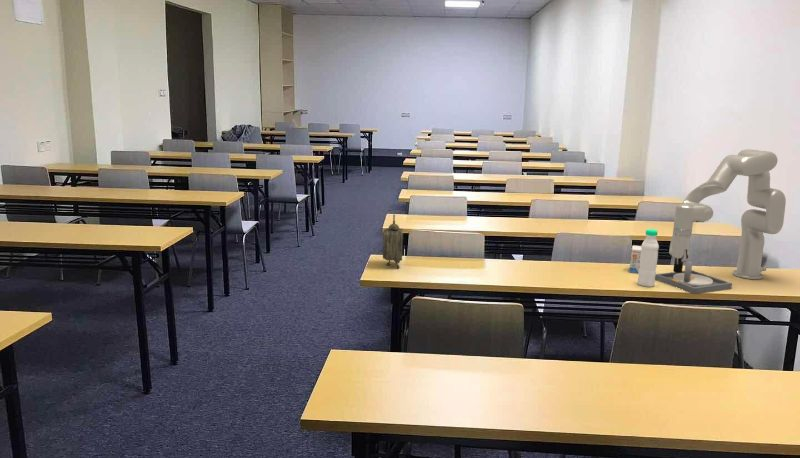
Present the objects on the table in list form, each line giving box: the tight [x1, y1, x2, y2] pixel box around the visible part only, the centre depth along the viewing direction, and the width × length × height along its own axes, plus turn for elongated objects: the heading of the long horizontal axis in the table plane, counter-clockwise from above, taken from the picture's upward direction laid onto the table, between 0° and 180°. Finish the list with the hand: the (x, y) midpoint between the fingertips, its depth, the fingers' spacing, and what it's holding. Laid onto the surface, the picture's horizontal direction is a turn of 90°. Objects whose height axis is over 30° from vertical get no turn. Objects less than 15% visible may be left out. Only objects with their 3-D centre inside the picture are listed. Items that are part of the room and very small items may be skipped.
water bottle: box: [637, 228, 660, 288], centre depth 266 cm, size 7×7×25 cm
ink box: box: [628, 245, 642, 274], centre depth 288 cm, size 9×8×12 cm
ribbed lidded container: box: [382, 214, 404, 269], centre depth 289 cm, size 14×9×25 cm, turn 179°
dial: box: [673, 260, 713, 287], centre depth 269 cm, size 16×16×10 cm
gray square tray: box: [655, 270, 733, 295], centre depth 270 cm, size 22×22×3 cm
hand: (677, 272), depth 271 cm, fingers closed
